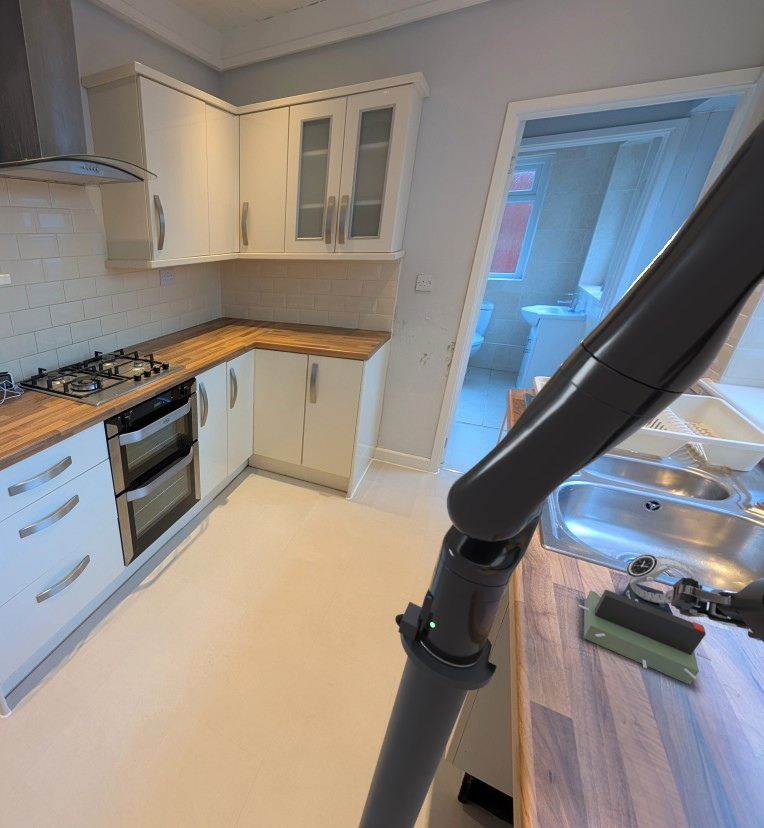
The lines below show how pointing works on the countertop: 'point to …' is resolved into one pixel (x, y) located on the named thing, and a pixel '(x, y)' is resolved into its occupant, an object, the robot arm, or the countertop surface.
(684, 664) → the dial panel
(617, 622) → the pointer
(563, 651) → the countertop surface
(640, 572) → the watch
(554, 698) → the countertop surface
